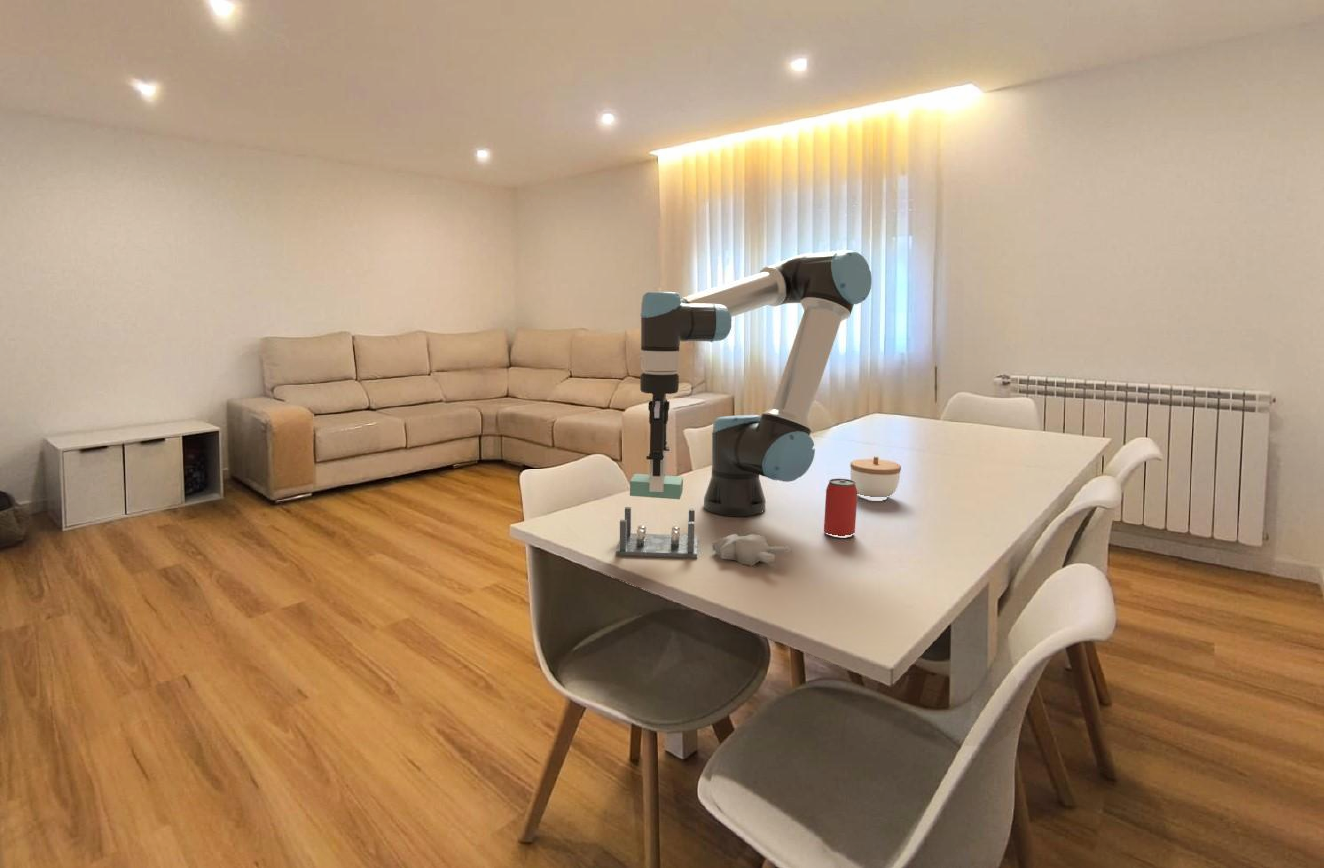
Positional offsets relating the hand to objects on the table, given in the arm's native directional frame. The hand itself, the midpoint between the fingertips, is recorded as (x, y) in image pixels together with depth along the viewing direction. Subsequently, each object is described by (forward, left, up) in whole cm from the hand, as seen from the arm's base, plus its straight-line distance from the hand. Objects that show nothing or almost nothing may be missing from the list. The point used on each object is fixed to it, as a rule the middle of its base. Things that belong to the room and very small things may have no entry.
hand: (657, 486), depth 137 cm
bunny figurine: (-18, +6, -13) cm, 23 cm away
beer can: (-39, -12, -13) cm, 43 cm away
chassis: (0, 0, -13) cm, 13 cm away
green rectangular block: (0, 0, -1) cm, 1 cm away
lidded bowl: (-54, -43, -13) cm, 70 cm away
